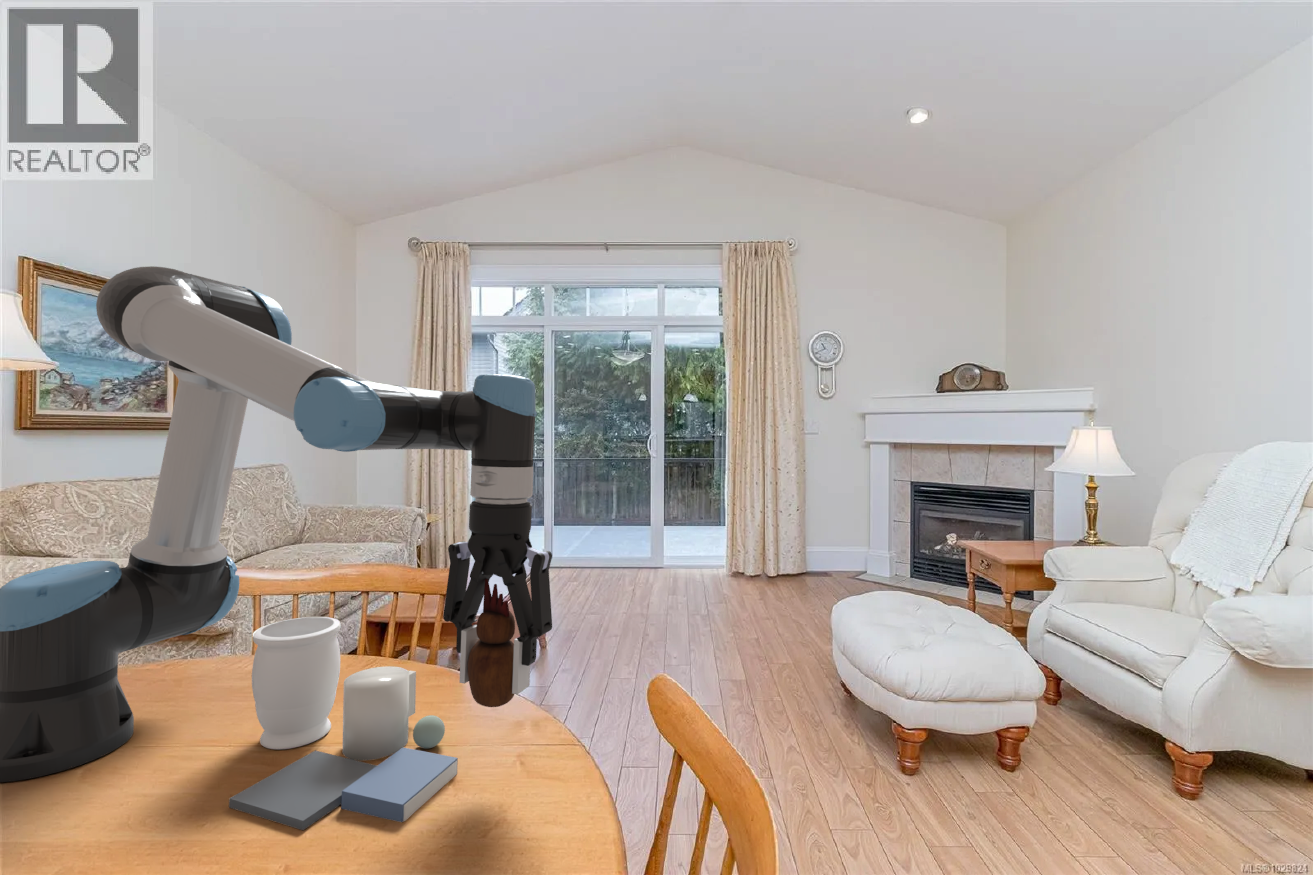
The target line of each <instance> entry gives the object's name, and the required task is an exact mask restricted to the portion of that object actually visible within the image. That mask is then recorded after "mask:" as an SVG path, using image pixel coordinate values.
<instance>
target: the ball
mask: <svg viewBox="0 0 1313 875" xmlns="http://www.w3.org/2000/svg"><path fill="white" fill-rule="evenodd" d="M445 728H446V726H445V723H444V722H443V720H442V719H441V718H440V717H439V716H437V715H426V716H424V717H421V718H420V719H419V720H418V721H417V722H416V723H415V725H414V728H413V729H412V730H413V731H412V738H413V741H414V743H415V744H416V746H417V747H420V748H421V749H425V750H426V749H431V748H434V747H436V746H437V745H439V744H440V742H441V741H442V740H443V738H444V735H445V731H446V729H445Z"/></svg>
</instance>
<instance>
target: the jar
mask: <svg viewBox="0 0 1313 875" xmlns="http://www.w3.org/2000/svg"><path fill="white" fill-rule="evenodd" d="M341 627H342V626H341V620H339V619H337V618H335V617H329V616H306V617H305V616H303V617H298V618H297V617H296V618H290V619H285V620H279V621H276V622H273V623H269V624H266V625H263V626H261V627H259V628H257V629H256V630H254V632H253V633H252V641H253V642H254V644H255V645H257V648H256V650H255V652H254V653H255V654H254V658H253V662H252V668H251V670H252V671H251V688H252V694H253V699H254V703H255V704H254V705H255V713H256V717H257V720H258V722H259V724H260V727H261V728H262V729H263V732H262V733H261V736H260V737H259V744H260V745H261V746H263V747H264V748H266V749H269V750H270V749H271V750H289V749H294V748H298V747H303V746H306V745H309V744H311V743H314V742H315V741H316V742H317V741H318V740H320V739H322V738H323V737H324V736H326V735H327V734H328V732H330V730H331V728H332V723H331V721H330V719H329V715H330V713H331V711H332V709H333V707H334V703H335V699H336V696H337V689H338V685H339V680H340V679H339V678H340V674H341V673H340V672H341V650H340V648H341V647H340V642H339V639H338V636H337V634H338V633H339V632H340V630H341Z"/></svg>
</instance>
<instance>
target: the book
mask: <svg viewBox="0 0 1313 875" xmlns="http://www.w3.org/2000/svg"><path fill="white" fill-rule="evenodd" d="M458 764H459V763H458V757H454V756H449V755H444V754H440V753H434V752H431V751H430V752H428V751H425V750H420V749H413V748H409V747H405V746H404V747H403V748H401V749H400V750H399V751H397V752H396V753H394V754H391V755H389V756H388V758H386V759H384V760H383V761H382V762H380V763H378V765H377V766H376V767H375V768H373V769H372V770H371V771H369V772H368V773H366V774H365V775H364V776H362V777H361V778H359V779H358V780H357V781H355V782H354V783H352V784H351V785H350V786H348V787H347V788H345V789H344V790H343V791H342V802H341V805H340V806H341V807H340V809H342V810H344V811H350V812H353V813H359V814H363V815H367V816H372V817H377V818H380V819H385V820H390V821H394V822H399V823H403V822H405V821H407V820H408V819H409V818H410V817H411V816H412V815H413V814H414V813H415V812H417V810H419V809H420V808H421V807H422V806H423V805H424V804H425V803H427V802H428V801H429V800H430V799H431V798H432V797H433V796H434V795H435V794H436V793H438V792H439V791H440V790H441V789H442V788H443V787H445V785H447V784H448V783H449V782H450V781H451V780H452V779H453V778H454V777H456V776H457V775H458Z"/></svg>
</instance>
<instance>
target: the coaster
mask: <svg viewBox="0 0 1313 875" xmlns="http://www.w3.org/2000/svg"><path fill="white" fill-rule="evenodd" d="M376 766H378V765H377V764H376V765H375V764H372V763H368V762H364V761H361V760H352V759H349V758H347V757H345V756H344V757H343V756H340V755H337V754H332V753H327V752H325V751H320V750H316V749H315V750H314V751H312V752H310V753H309V754H306V755H305V756H303V757H301V758H299V759H297V760H295V761H294V762H292V763H290V764H288V765H286V766H284V767H283V768H281V769H279V770H277V771H276V772H273V773H272V774H270V775H269V776H267V777H265V778H263V779H262V780H259V781H257V782H256V783H255V784H252V785H251V786H248V787H247V788H245V789H243V790H242V791H240V792H238V793H237V794H234V795H233V796H231V797H229V799H228V808H230V809H234V810H235V811H239V812H242V813H246V814H249V815H252V816H255V817H258V818H261V819H265V820H268V821H271V822H275V823H277V824H282V825H284V826H289V827H291V828H294V829H297V830H301V831H304V830H306V829H307V828H309V827H310V826H311V825H313V824H315V822H317V821H319V820H320V819H322V818H323V817H324V816H326V815H328V814H329V813H330V812H333V810H335V809H336V808H338V807H339V806H341V802H342V791H343V790H344V789H345V788H347V787H348V786H350V785H351V784H352V783H354V782H355V781H357V780H358V779H359V778H361V777H362V776H364V775H365V774H366V773H368V772H369V771H371V770H372V769H373V768H375V767H376Z"/></svg>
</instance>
